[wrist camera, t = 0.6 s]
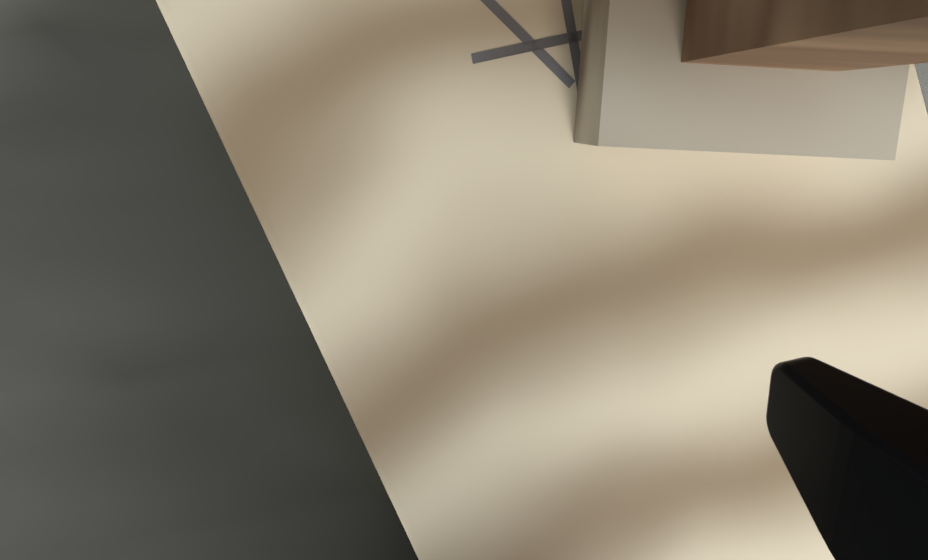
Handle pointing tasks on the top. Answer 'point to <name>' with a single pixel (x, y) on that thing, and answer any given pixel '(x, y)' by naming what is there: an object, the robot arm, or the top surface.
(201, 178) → the top surface
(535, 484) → the plywood board
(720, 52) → the block
